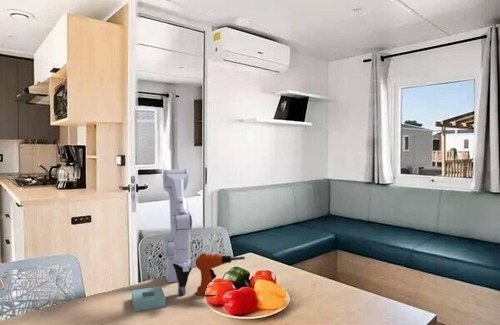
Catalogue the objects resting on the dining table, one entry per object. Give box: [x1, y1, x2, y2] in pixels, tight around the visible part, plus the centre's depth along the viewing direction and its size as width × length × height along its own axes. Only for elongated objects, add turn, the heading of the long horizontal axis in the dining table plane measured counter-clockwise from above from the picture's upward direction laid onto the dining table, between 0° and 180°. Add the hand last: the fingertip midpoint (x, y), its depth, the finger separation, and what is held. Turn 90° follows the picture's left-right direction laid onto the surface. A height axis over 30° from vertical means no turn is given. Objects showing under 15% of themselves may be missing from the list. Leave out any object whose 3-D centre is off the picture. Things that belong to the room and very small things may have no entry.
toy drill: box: [195, 252, 246, 296], centre depth 128 cm, size 5×19×15 cm, turn 85°
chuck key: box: [177, 266, 187, 296], centre depth 127 cm, size 3×3×10 cm
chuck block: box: [131, 286, 167, 312], centre depth 120 cm, size 10×10×3 cm
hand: (181, 284), depth 127 cm, fingers closed on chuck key, 3 cm apart
